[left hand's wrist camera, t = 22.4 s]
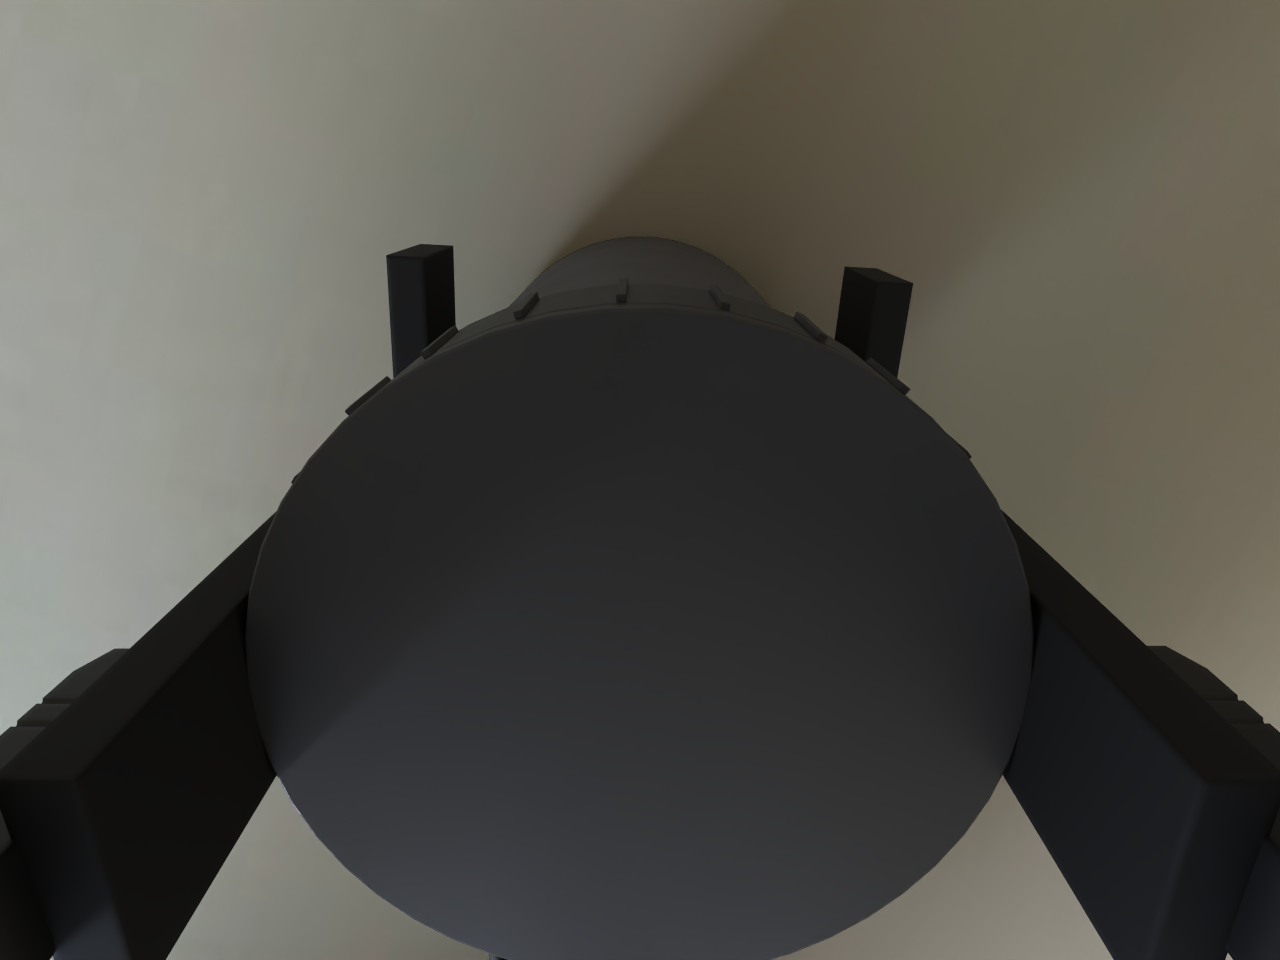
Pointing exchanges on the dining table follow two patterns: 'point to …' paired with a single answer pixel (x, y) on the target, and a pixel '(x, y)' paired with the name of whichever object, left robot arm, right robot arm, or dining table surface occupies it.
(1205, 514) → the dining table surface
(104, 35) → the dining table surface
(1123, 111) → the dining table surface
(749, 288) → the jar
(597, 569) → the lid
